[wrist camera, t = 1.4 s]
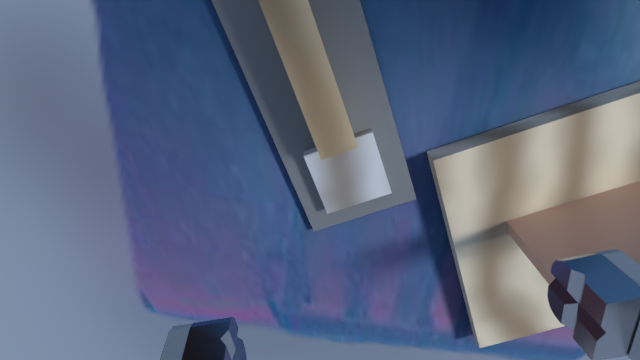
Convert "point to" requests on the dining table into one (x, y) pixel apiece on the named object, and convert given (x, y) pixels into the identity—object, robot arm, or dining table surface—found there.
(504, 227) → the board
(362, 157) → the turner
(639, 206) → the tile
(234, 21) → the mat
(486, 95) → the dining table surface
